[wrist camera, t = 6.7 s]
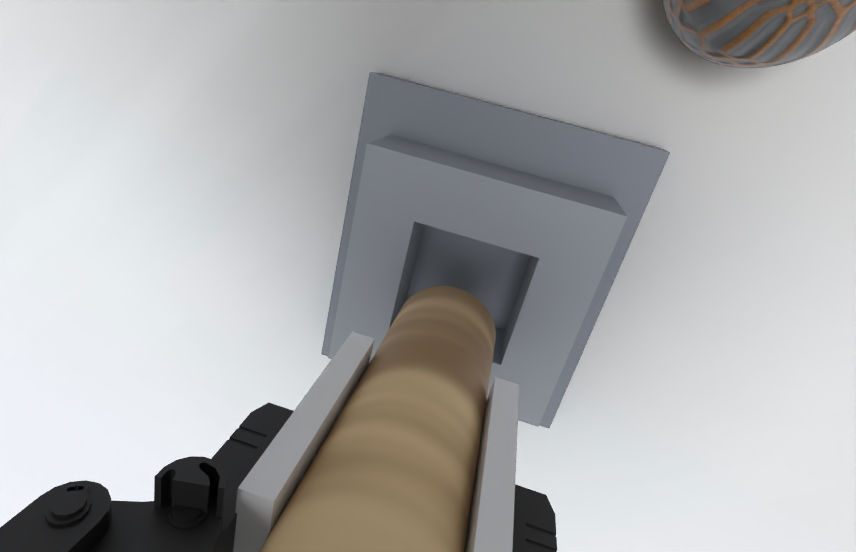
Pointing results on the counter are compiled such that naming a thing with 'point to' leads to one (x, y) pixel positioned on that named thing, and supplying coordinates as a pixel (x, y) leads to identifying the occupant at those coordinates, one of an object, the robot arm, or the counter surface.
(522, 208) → the socket
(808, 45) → the vase
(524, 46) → the counter surface
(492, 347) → the peg
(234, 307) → the counter surface
